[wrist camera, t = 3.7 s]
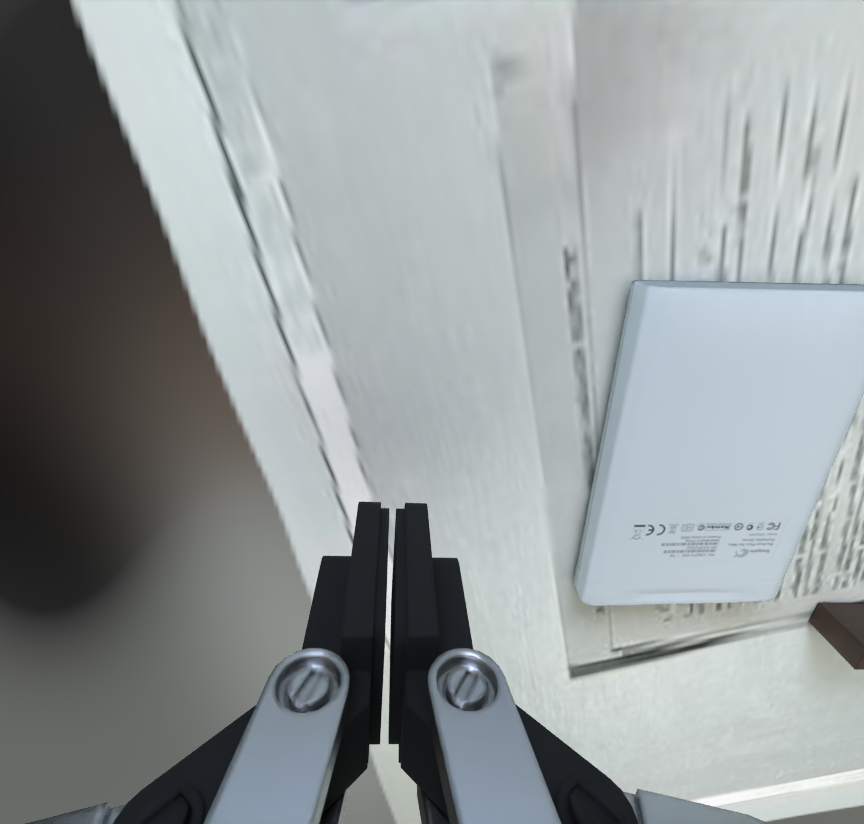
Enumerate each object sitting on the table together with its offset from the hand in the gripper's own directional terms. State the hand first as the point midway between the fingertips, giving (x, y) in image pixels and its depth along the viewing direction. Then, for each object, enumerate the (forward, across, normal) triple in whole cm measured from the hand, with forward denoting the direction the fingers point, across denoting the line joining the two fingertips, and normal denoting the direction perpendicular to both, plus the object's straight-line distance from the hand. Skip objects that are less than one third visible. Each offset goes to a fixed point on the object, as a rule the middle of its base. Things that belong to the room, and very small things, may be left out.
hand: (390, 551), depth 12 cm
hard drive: (+6, -12, 0) cm, 13 cm away
